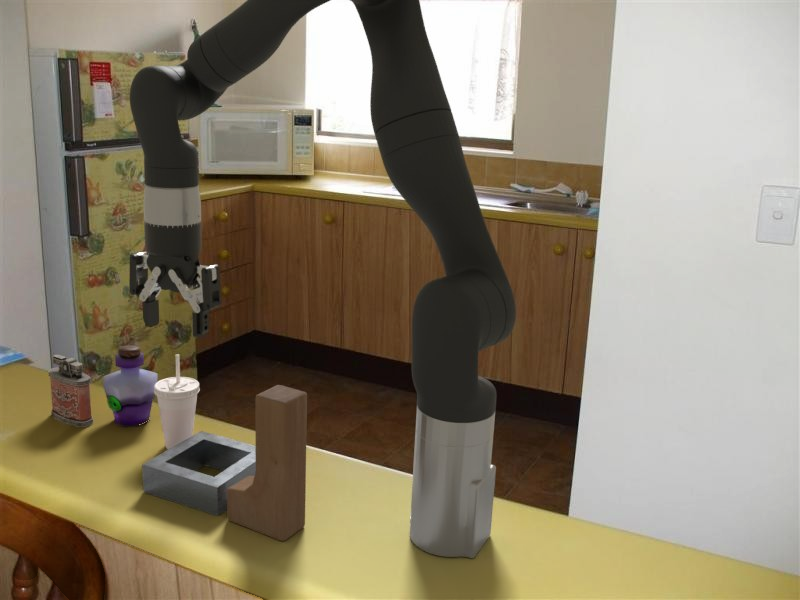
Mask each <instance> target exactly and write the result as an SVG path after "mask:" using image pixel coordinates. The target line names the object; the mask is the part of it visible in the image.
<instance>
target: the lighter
mask: <svg viewBox="0 0 800 600" xmlns="http://www.w3.org/2000/svg"><path fill="white" fill-rule="evenodd" d="M51 359H52V364H53V365H56V367H52V368H50V369H48V371H47V373H48V376H49V379H50V380H49V381H50V394H51V406H52V408H51V410H50V411H51V417H52V418H54V419H55V420H57V421H59V422H61V423H63V424H65V425H69V426H74V427H77V428H87V427H89V426H91V425H93V424H94V417H93V415H92V404H91V389H90V388H91V387H90V384H91V382H92V381H91V375H90V376H89V375H88V374H86V373H84V372H83V370H84V369H83V363H82V362H79V361H78V360H77V358H75V357H70V358H67V356H64V355H60V354H54V355H53V356H52V357H51Z"/></svg>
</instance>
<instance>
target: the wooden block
mask: <svg viewBox="0 0 800 600" xmlns="http://www.w3.org/2000/svg"><path fill="white" fill-rule="evenodd" d="M254 399H255V402H254V403H255V414H254V415H255V446H256V472H255V476H248V477H246V478H244V479H243V480H241V481H239V482H238V483H236V484H234V485H233V486H231V487H229V488H228V489H227V510H226V516H227V520H228V521H229V522H231V523H235V524H238V525H240V526H242V527H245V528H247V529H250V530H253V531H254V532H257V533H260V534H263V535H264V536H268V537H270V538H273V539H275V540H278V541H280V542H286V541H287V540H288V539H291V537H292V536H293V535H295V534H296V533H298V532H299V531H300V530H302V529H303V528H304V527H305V525H306V492H307V491H306V488H307V487H306V484H307V483H306V482H307V481H306V478H307V477H306V475H307V466H306V465H307V427H308V426H307V422H308V420H307V419H308V418H307V417H308V409H307V408H308V393H307V392H306V391H302V390H300V389H295V388H293V387H289V386H285V385H281V384H276V385H274V386H272V387H271V388H268V389H266V390H264V391H262V392H260V393H258V394H256V396H255V398H254Z"/></svg>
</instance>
